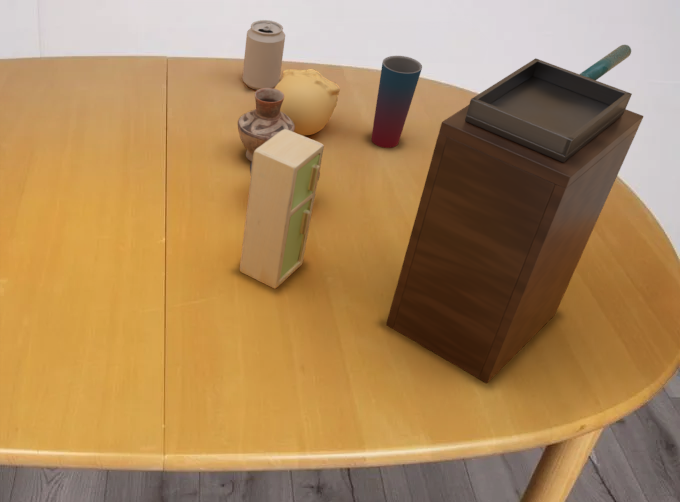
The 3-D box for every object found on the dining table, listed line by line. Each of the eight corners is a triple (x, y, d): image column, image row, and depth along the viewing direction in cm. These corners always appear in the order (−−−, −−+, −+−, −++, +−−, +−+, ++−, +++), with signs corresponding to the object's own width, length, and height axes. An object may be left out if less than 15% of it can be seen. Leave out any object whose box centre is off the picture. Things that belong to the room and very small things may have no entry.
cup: (398, 154, 158) (417, 76, 148) (361, 144, 160) (378, 67, 150) (407, 137, 163) (426, 61, 153) (371, 128, 165) (388, 52, 155)
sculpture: (340, 125, 165) (350, 71, 158) (308, 150, 158) (317, 95, 151) (289, 105, 170) (296, 52, 163) (255, 128, 163) (261, 74, 155)
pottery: (285, 140, 160) (293, 80, 152) (322, 220, 142) (334, 156, 134) (224, 143, 158) (230, 82, 150) (254, 224, 140) (262, 159, 132)
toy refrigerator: (279, 292, 128) (299, 169, 114) (238, 272, 131) (252, 149, 117) (307, 266, 133) (329, 145, 118) (267, 247, 136) (284, 126, 121)
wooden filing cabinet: (486, 383, 116) (570, 177, 94) (385, 324, 124) (441, 121, 102) (555, 314, 127) (644, 115, 105) (458, 264, 135) (522, 70, 113)
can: (237, 88, 174) (243, 29, 166) (247, 72, 179) (253, 15, 171) (274, 95, 173) (281, 36, 165) (282, 79, 178) (290, 21, 170)
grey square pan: (563, 163, 96) (572, 140, 94) (464, 120, 102) (470, 99, 100) (667, 79, 113) (676, 58, 111) (576, 47, 119) (584, 27, 117)
